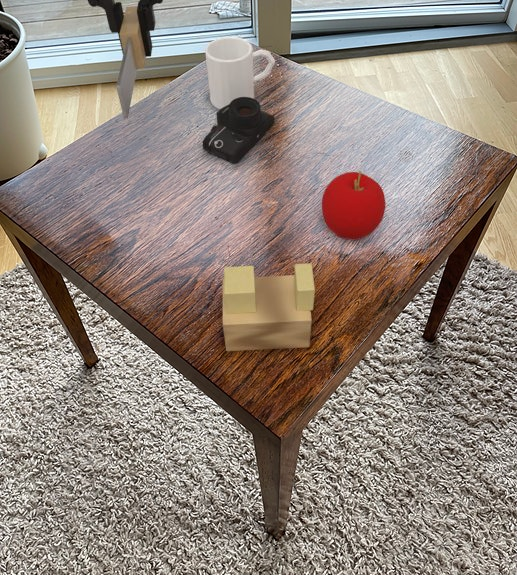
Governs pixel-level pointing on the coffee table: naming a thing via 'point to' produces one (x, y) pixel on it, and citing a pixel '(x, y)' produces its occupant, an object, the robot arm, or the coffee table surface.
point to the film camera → (237, 129)
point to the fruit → (353, 205)
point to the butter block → (239, 289)
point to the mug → (233, 69)
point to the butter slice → (304, 287)
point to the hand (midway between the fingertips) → (138, 51)
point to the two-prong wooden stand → (269, 319)
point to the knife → (129, 57)
